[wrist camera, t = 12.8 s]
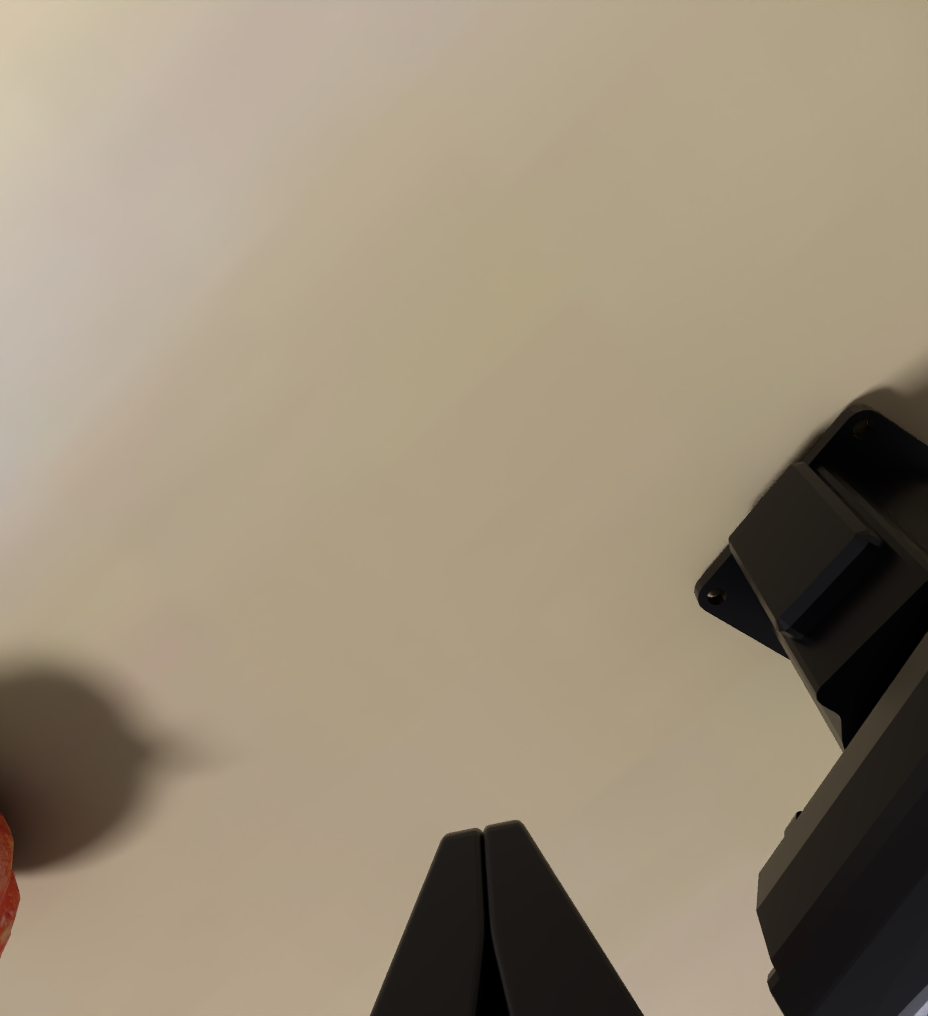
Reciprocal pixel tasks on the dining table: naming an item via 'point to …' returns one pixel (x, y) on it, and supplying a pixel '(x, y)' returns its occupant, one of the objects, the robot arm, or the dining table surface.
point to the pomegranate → (7, 884)
